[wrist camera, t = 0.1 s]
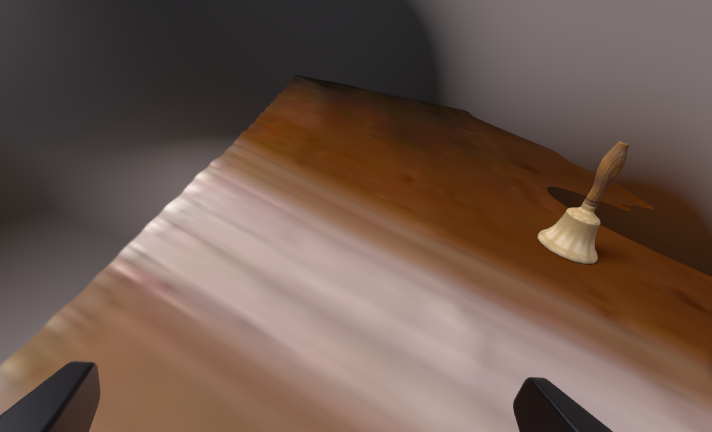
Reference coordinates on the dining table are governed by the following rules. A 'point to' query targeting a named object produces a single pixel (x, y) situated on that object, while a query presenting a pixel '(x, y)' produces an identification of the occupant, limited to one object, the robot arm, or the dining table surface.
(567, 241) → the hand bell
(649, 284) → the dining table surface
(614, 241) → the dining table surface
